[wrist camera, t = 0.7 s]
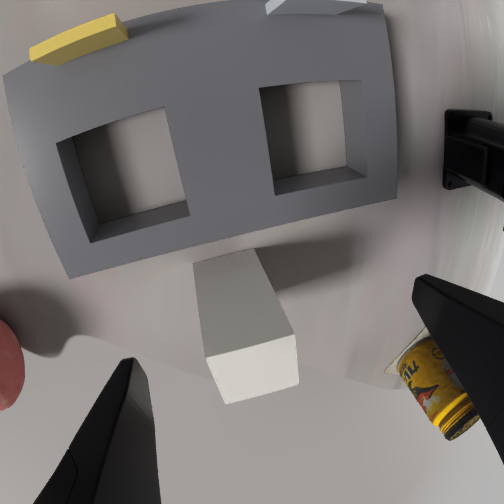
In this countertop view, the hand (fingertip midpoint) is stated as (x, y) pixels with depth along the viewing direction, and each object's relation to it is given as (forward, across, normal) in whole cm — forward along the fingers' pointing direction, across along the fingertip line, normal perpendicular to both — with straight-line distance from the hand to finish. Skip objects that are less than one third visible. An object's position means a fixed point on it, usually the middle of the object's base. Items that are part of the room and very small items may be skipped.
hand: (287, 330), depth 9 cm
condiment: (+11, -19, +23) cm, 32 cm away
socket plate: (+11, 0, -5) cm, 12 cm away
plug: (+11, +1, +6) cm, 12 cm away
